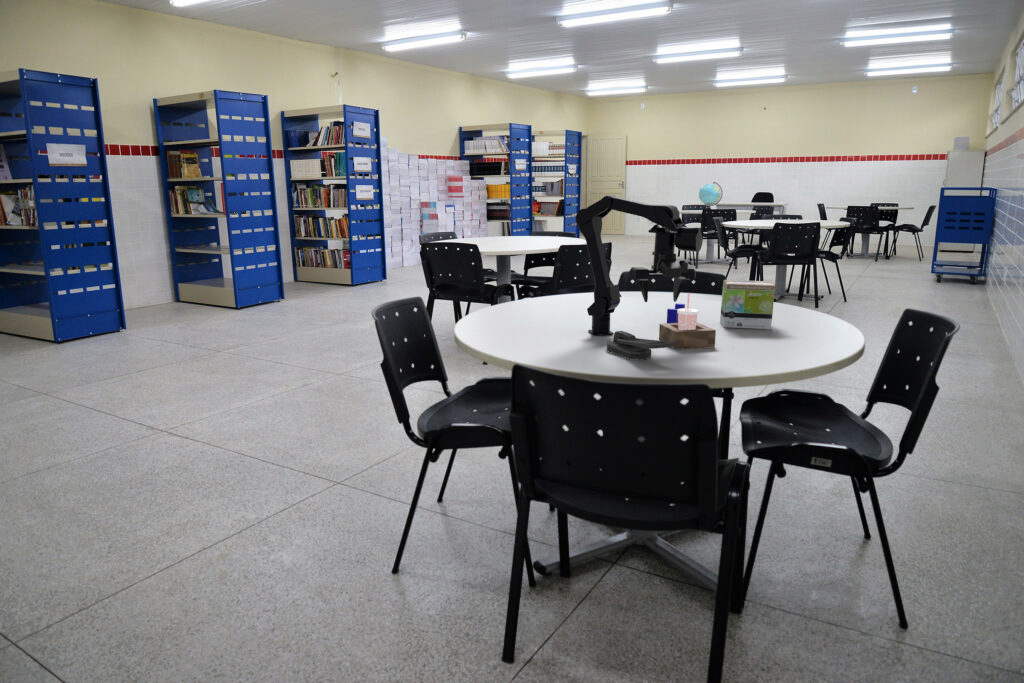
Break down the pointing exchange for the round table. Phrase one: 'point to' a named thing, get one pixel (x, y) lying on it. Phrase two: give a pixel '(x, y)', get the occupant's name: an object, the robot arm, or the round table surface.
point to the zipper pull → (634, 346)
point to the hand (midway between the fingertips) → (660, 301)
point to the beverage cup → (687, 317)
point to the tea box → (747, 304)
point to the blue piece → (674, 313)
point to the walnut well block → (688, 336)
